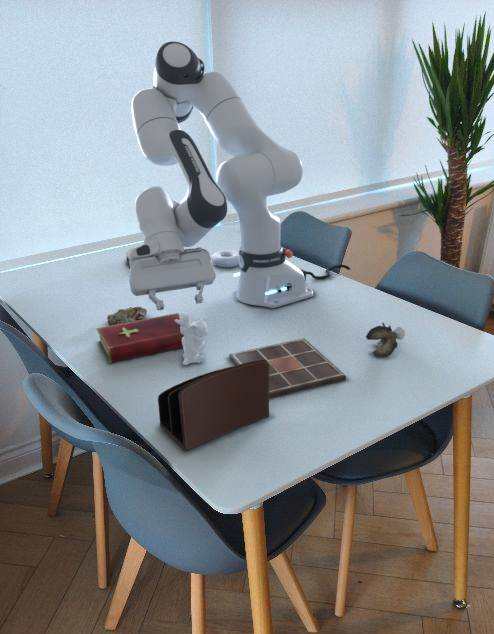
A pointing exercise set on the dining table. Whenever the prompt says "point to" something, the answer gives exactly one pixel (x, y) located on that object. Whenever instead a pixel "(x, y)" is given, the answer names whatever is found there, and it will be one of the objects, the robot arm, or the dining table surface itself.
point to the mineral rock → (127, 315)
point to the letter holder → (215, 403)
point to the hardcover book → (140, 338)
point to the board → (292, 366)
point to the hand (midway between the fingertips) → (180, 305)
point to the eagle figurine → (385, 339)
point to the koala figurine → (192, 338)
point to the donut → (226, 258)
